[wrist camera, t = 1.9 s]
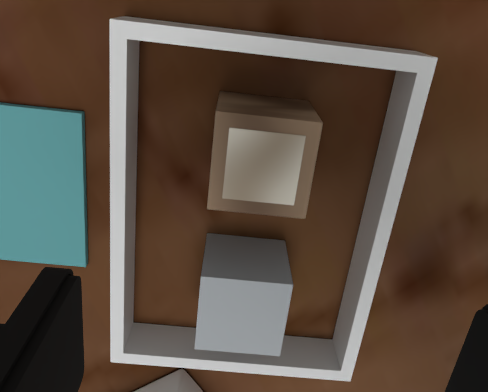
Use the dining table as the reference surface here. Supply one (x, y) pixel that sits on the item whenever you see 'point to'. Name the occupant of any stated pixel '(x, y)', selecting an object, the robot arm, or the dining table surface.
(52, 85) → the dining table surface
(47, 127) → the teal mat
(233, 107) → the walnut box
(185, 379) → the medicine bottle
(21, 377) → the robot arm
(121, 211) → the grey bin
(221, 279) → the slate box
